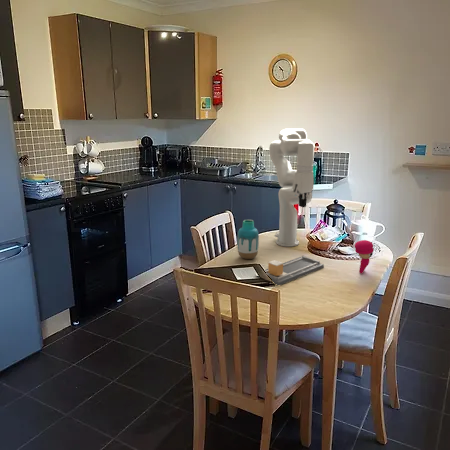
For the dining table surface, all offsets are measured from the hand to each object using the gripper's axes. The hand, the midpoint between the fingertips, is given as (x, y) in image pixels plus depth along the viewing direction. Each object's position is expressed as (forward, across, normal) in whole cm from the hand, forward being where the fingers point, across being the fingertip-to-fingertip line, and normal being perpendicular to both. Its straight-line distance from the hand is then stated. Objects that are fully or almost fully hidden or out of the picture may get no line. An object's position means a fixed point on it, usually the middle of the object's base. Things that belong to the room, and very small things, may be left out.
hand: (302, 206), depth 206 cm
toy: (+26, -8, +31) cm, 41 cm away
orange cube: (+24, +27, +10) cm, 37 cm away
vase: (+27, +20, -16) cm, 37 cm away
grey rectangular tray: (+26, +17, +10) cm, 32 cm away
